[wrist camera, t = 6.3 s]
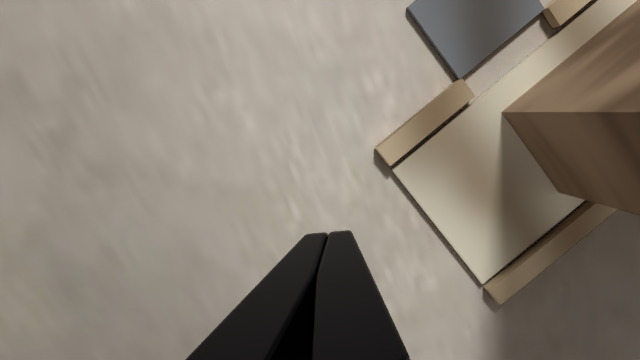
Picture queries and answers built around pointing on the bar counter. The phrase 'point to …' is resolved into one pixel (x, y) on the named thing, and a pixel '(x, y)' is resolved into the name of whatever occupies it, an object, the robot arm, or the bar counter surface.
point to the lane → (493, 141)
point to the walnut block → (589, 118)
